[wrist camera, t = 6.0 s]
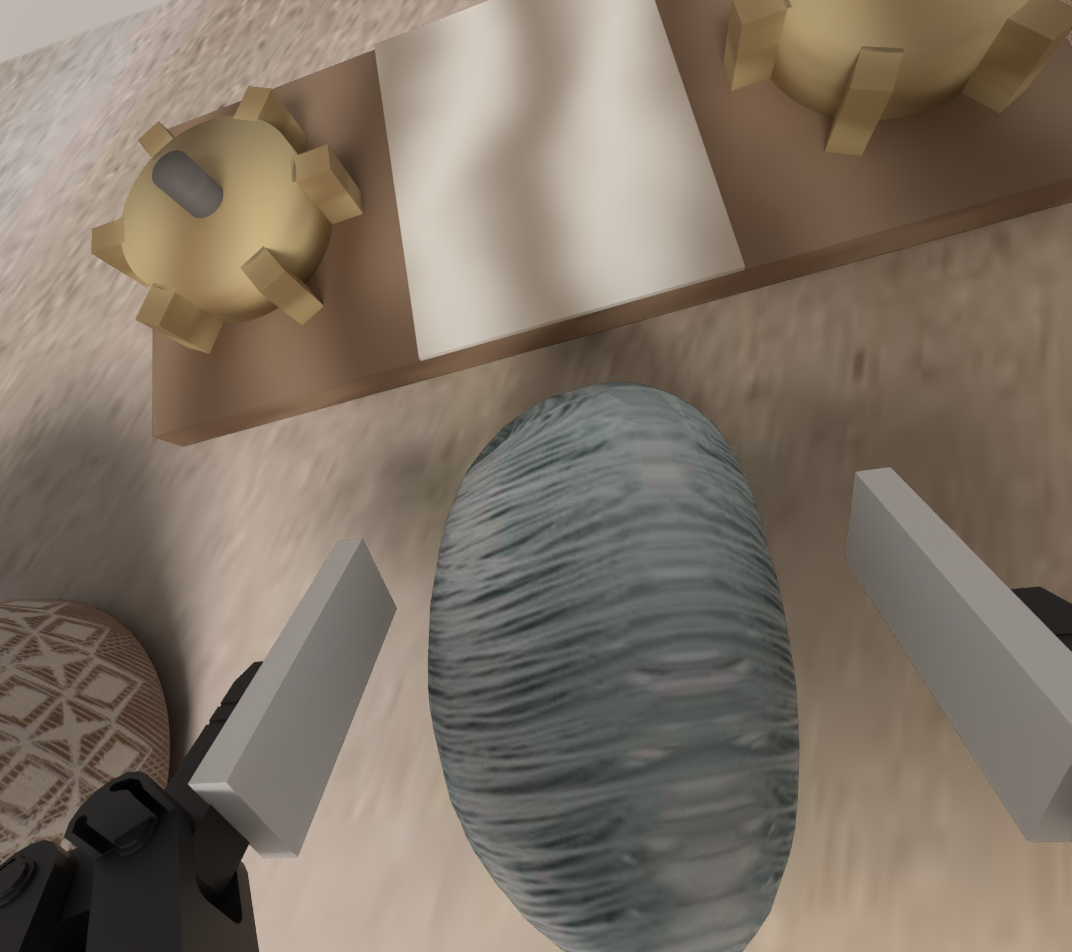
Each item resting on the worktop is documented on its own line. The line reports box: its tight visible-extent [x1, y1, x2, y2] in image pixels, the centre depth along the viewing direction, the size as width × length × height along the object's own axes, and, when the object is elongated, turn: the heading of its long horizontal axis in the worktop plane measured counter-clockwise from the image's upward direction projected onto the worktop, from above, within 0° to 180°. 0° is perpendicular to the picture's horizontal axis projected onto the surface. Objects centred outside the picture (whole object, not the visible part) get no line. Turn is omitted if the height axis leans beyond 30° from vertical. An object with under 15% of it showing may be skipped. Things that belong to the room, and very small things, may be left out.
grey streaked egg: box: [428, 382, 799, 952], centre depth 14 cm, size 14×10×10 cm
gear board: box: [91, 0, 1072, 446], centre depth 20 cm, size 37×16×6 cm, turn 101°
